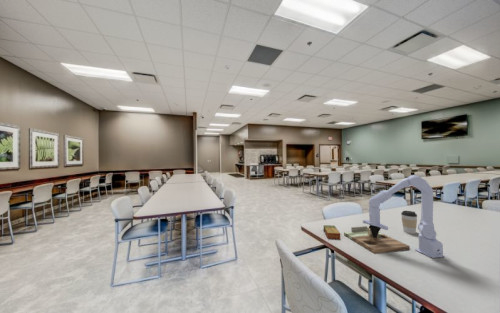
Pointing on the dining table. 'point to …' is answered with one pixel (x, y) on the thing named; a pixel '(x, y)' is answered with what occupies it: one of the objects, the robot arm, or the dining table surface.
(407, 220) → the coffee cup
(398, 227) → the dining table surface
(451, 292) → the dining table surface
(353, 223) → the dining table surface
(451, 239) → the dining table surface
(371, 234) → the block
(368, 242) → the board
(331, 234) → the carton
